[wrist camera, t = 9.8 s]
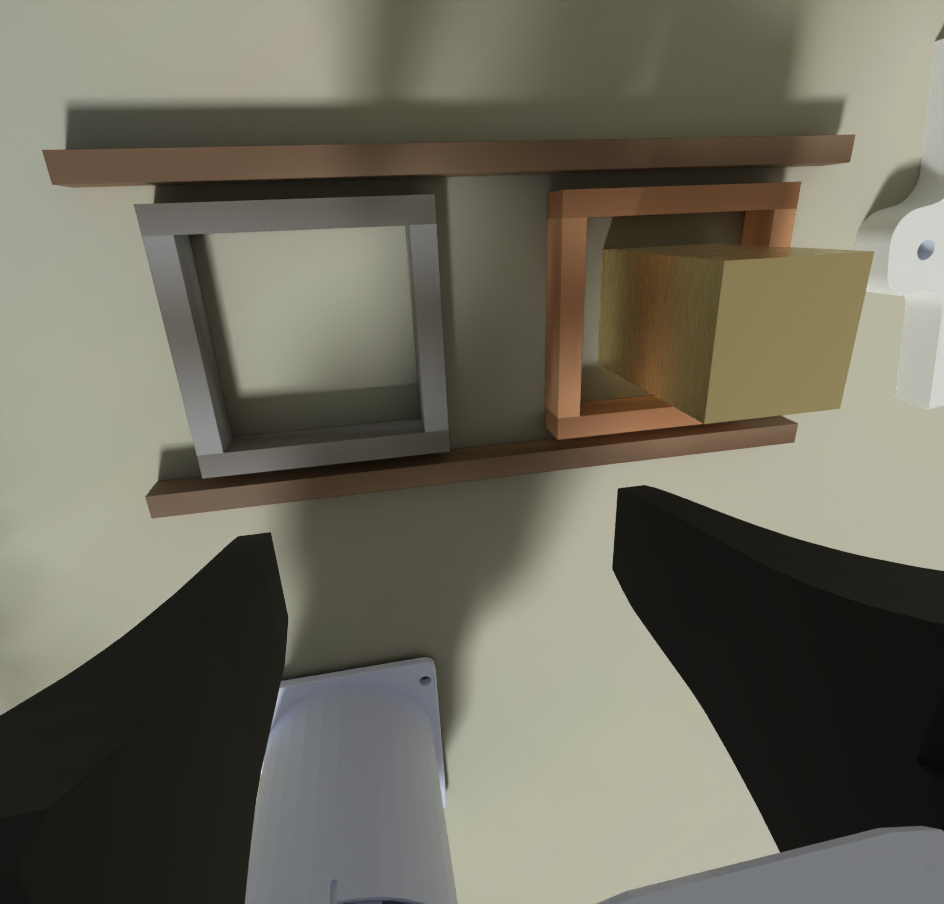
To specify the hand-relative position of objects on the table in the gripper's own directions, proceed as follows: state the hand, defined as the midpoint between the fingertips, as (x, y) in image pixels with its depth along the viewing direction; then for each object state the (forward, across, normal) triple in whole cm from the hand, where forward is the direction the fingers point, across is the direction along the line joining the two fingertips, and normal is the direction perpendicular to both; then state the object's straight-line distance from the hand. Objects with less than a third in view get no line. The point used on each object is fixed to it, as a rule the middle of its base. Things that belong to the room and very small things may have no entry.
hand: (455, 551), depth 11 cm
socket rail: (+9, -3, -3) cm, 10 cm away
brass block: (+10, -9, -3) cm, 13 cm away
